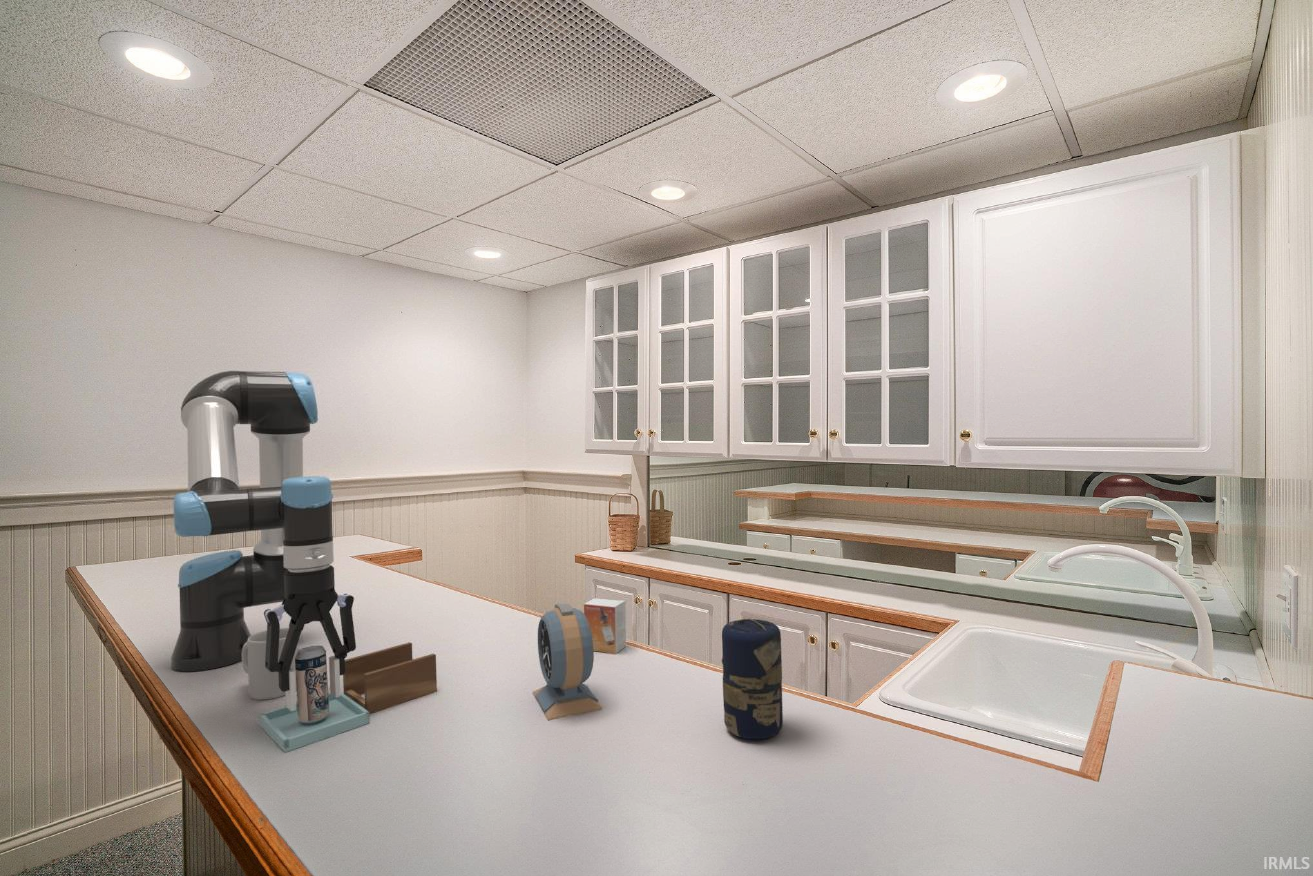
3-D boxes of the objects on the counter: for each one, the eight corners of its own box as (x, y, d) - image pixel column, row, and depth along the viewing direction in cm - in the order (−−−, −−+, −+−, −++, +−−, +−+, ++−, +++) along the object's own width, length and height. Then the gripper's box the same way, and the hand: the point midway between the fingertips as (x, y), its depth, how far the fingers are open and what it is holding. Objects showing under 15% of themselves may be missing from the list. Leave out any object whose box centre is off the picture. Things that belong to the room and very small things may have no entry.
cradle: (343, 697, 118) (342, 660, 118) (410, 676, 127) (409, 642, 127) (367, 714, 110) (366, 675, 110) (436, 691, 120) (435, 654, 120)
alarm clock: (531, 691, 119) (528, 598, 118) (581, 682, 123) (578, 592, 122) (549, 723, 106) (546, 618, 105) (604, 711, 109) (601, 610, 109)
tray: (259, 725, 107) (258, 714, 107) (339, 700, 117) (338, 690, 117) (284, 752, 98) (284, 741, 98) (369, 722, 107) (369, 712, 107)
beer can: (316, 725, 105) (311, 653, 105) (291, 725, 106) (287, 653, 106) (336, 713, 109) (332, 644, 110) (312, 713, 110) (308, 644, 111)
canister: (746, 750, 95) (743, 632, 95) (712, 725, 103) (710, 616, 103) (795, 734, 99) (793, 622, 99) (759, 711, 108) (757, 607, 108)
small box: (583, 650, 140) (582, 603, 140) (595, 642, 145) (594, 597, 145) (616, 654, 137) (614, 606, 137) (626, 646, 142) (625, 600, 142)
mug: (310, 684, 125) (308, 629, 125) (272, 702, 117) (270, 643, 116) (263, 678, 128) (261, 625, 128) (224, 695, 120) (222, 638, 120)
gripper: (250, 581, 97) (255, 728, 98) (375, 560, 111) (379, 689, 112) (237, 574, 103) (242, 714, 103) (358, 555, 117) (362, 678, 117)
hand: (313, 701), depth 107 cm, fingers open, 6 cm apart
